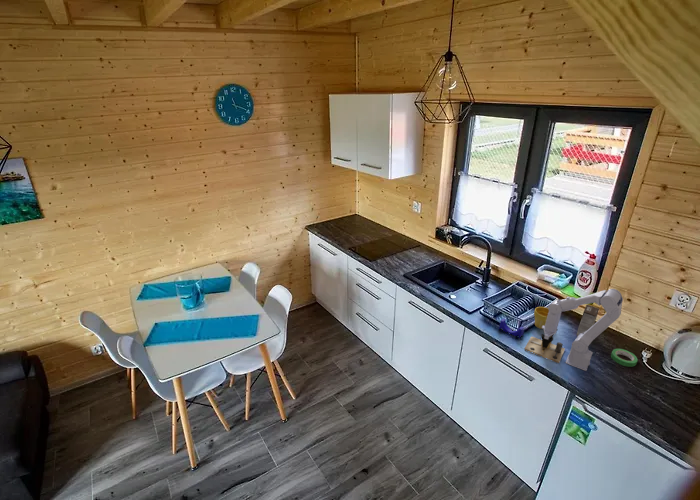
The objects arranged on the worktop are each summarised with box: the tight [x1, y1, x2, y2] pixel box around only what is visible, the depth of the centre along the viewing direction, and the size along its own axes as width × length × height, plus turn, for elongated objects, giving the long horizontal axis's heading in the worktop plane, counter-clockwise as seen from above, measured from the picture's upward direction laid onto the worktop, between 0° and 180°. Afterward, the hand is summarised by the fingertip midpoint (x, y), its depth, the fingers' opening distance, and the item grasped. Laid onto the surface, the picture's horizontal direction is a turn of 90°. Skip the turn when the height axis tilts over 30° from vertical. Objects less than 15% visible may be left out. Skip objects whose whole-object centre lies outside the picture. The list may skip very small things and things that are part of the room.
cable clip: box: [498, 318, 525, 339], centre depth 222 cm, size 12×4×6 cm, turn 45°
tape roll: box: [610, 348, 638, 368], centre depth 203 cm, size 11×11×3 cm
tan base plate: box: [523, 336, 566, 364], centre depth 208 cm, size 17×13×6 cm
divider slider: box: [541, 336, 554, 352], centre depth 207 cm, size 4×8×6 cm, turn 142°
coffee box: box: [576, 304, 600, 337], centre depth 219 cm, size 9×6×16 cm
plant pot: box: [533, 306, 549, 330], centre depth 227 cm, size 10×10×10 cm
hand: (546, 343), depth 209 cm, fingers open, 7 cm apart
